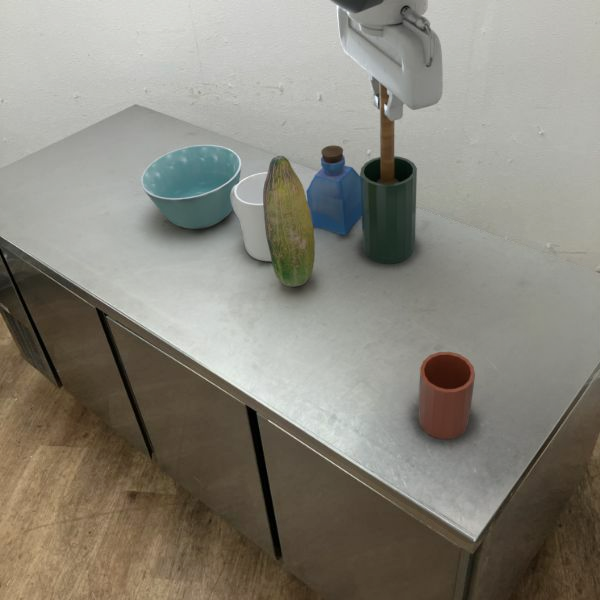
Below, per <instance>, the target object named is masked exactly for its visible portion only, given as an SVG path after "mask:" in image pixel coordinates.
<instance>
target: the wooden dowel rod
mask: <svg viewBox="0 0 600 600" xmlns="http://www.w3.org/2000/svg"><path fill="white" fill-rule="evenodd" d="M379 86H380V110H379V137H380V138H379V151H380V153H379V157H380V164H381V179H379V180H378V181H377V182H376V183H380V184H394V183H399V181H398V180H397V179H395V178H394V156H395V120H394V121H391V120H389V119H388V118H387V117H386V116H385V114H384V112H385V109H384V103H388V100H389V95H388V94H387V88H386V87H385V86H383V85H382V84H381V83H380V82H379Z"/></svg>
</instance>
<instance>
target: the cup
mask: <svg viewBox="0 0 600 600" xmlns="http://www.w3.org/2000/svg"><path fill="white" fill-rule="evenodd" d="M359 176H360V183H361V208H362V217H361V228H362V230H361V231H362V245H363V248H362V249H363V252H364V254H365V256H366V257H367V258H368V259H370V260H372V261H373V262H376V263H379V264H387V265H388V264H389V265H391V264H398V263H401V262H404V261H407V260H408V259H409V258H410V257H411V256H413V254H414V252H415V248H416V223H417V222H416V219H417V215H416V214H417V183H418V167H417V165H416V164H415V163H414V162H412V161H411V160H410V159H408V158H406V157H403V156H398V155H397V156H396V155H394V178H395V179H397V180H398V181H399V183H394V184H380V183H376V182H377V181H378V180H379V179H381V164H380V156H378V157H374V158H371V159H370V160H368V161H366V162H365V163H363V165H362V166H361V167H360V170H359Z"/></svg>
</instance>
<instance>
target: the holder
mask: <svg viewBox="0 0 600 600" xmlns="http://www.w3.org/2000/svg"><path fill="white" fill-rule="evenodd" d="M475 378H476V372H475V367H474V365H473V364H472V362H471V361H470V360H469V359H468V358H466V357H464V356H463V355H462V354H460V353H456V352H453V351H438V352H435V353H433V354H429V355H428V356H427V357H426V358H425V359H423V361H422V362H421V365H420V367H419V388H418V409H417V410H418V422H419V425H420V427H421V428H422V431H424V432H425V433H426V434H428V435H429V436H431V437H434V438H435V439H440V440H451V439H455V438H458V437H459V436H461V435H463V433H464V432H466V430H467V428H468V426H469V422H470V417H471V409H472V403H473V395H474V387H475V380H476V379H475Z"/></svg>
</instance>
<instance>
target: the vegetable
mask: <svg viewBox="0 0 600 600" xmlns="http://www.w3.org/2000/svg"><path fill="white" fill-rule="evenodd" d="M267 172H268V174H267V177H266V180H265V183H264V189H263V206H264V219H265V230H266V237H267V242H268V246H269V250H270V255H271V260H272V261H271V264H272V267H273V272H274V273H275V276H276V277H277V280H278V281H279V282H280V283H282V284H283V285H284V286H287V287H290V288H291V287H292V288H293V287H300V286H302V285H305V283H307V282H308V281H309V279H310V277H311V275H312V273H313V272H314V271H313V269H314V266H315V256H316V242H315V241H316V239H315V230H314V226H313V223H312V219H311V213H310V209H309V206H308V202H307V195H306V193H305V189H304V186H303V184H302V182H301V179H300V178H299V176H298V175H297V173H296V171H294V168H293V167H292V165H291V163H290V160H289V159H288V158H286V157H285V156H284V155H276V156H273V158H272V159H271V160H270V161H269V165H268V169H267Z"/></svg>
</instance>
